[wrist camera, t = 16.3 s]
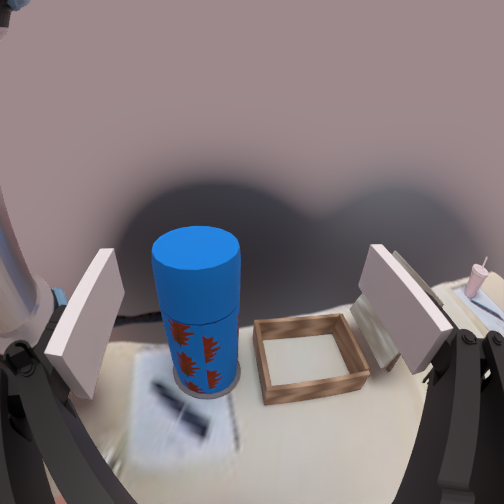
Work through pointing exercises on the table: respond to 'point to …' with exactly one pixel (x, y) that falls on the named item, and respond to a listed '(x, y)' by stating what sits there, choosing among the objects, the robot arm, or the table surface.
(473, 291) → the smoothie
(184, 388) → the disc
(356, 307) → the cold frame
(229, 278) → the thermos
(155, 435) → the table surface
